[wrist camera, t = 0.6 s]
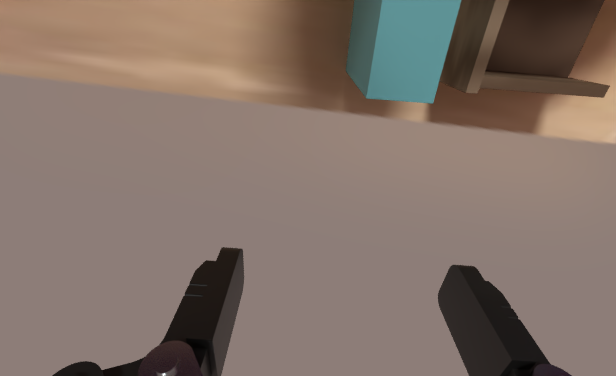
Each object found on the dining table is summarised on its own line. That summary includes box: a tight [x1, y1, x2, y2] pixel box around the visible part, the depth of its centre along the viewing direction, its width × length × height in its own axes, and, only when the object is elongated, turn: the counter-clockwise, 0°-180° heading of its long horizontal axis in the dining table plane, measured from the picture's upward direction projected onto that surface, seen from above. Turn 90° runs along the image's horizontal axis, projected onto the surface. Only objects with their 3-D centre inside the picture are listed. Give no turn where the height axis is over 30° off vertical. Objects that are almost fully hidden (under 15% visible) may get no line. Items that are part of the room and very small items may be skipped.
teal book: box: [346, 0, 461, 103], centre depth 23 cm, size 4×10×14 cm, turn 176°
